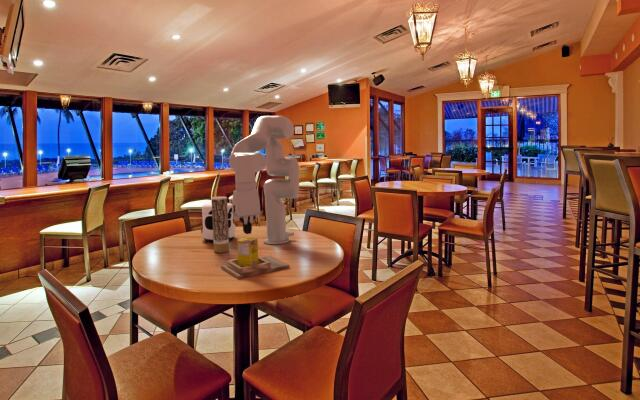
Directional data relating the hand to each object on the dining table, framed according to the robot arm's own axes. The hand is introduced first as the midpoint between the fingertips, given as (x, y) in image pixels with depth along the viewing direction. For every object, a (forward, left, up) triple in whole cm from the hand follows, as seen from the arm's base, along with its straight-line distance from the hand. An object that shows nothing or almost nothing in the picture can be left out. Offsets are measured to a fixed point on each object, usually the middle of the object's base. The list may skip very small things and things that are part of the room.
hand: (247, 233), depth 154 cm
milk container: (-10, -55, -15) cm, 57 cm away
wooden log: (-2, -32, -15) cm, 35 cm away
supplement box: (0, 0, -13) cm, 13 cm away
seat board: (-3, 0, -15) cm, 15 cm away
